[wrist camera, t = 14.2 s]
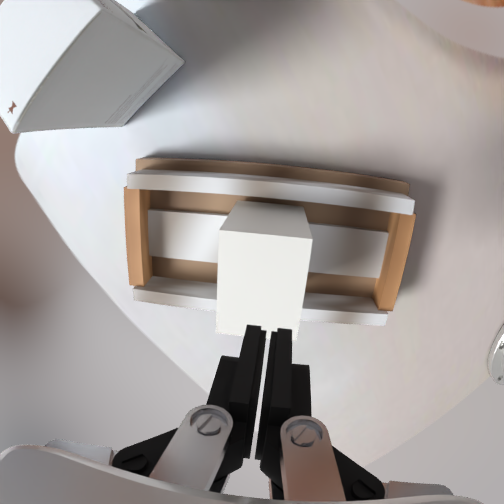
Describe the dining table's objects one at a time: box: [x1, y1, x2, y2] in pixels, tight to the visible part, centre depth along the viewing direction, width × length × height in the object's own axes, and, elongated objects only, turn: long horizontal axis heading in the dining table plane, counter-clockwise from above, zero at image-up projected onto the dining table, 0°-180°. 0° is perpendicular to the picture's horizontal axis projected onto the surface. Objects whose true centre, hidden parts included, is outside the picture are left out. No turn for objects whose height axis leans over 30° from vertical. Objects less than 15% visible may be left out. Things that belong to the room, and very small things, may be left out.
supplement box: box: [0, 0, 185, 133], centre depth 15 cm, size 7×7×13 cm
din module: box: [216, 200, 313, 341], centre depth 20 cm, size 4×6×7 cm
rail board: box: [124, 158, 416, 326], centre depth 23 cm, size 20×11×4 cm, turn 86°
